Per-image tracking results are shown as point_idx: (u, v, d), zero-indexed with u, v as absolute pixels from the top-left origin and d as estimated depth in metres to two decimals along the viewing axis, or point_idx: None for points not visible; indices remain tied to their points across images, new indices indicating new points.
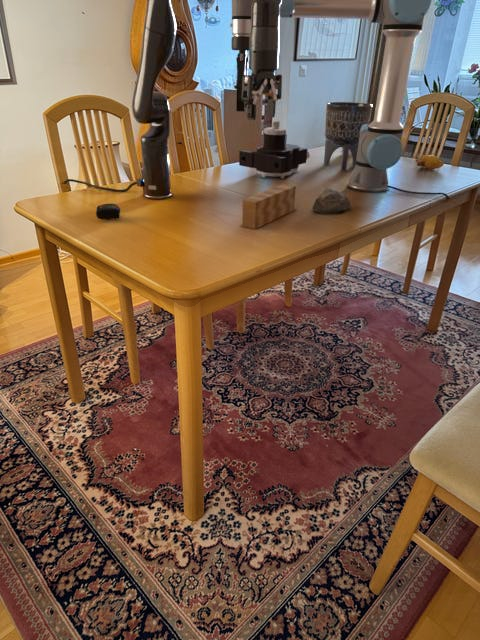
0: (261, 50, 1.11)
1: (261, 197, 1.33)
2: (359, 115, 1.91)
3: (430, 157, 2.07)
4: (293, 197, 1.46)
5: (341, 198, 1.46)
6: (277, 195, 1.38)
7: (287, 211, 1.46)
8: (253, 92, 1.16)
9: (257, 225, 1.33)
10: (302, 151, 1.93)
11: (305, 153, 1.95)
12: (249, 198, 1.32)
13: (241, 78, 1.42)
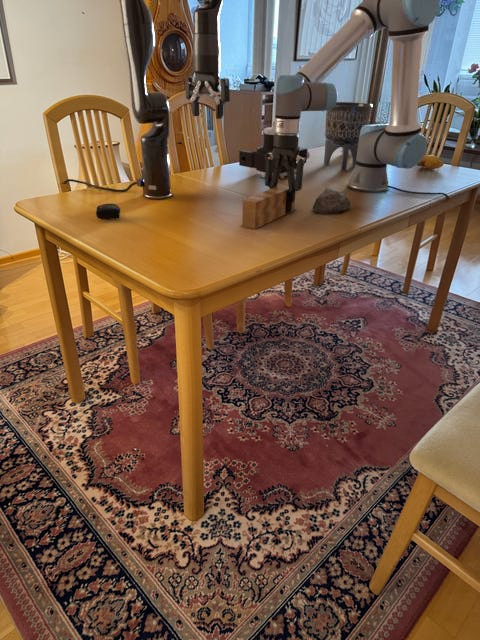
0: (219, 55, 1.25)
1: (261, 197, 1.33)
2: (359, 115, 1.91)
3: (430, 157, 2.07)
4: None
5: (341, 198, 1.46)
6: (277, 195, 1.38)
7: None
8: (218, 93, 1.29)
9: (257, 225, 1.33)
10: (302, 151, 1.93)
11: (305, 153, 1.95)
12: (249, 198, 1.32)
13: (300, 183, 1.40)
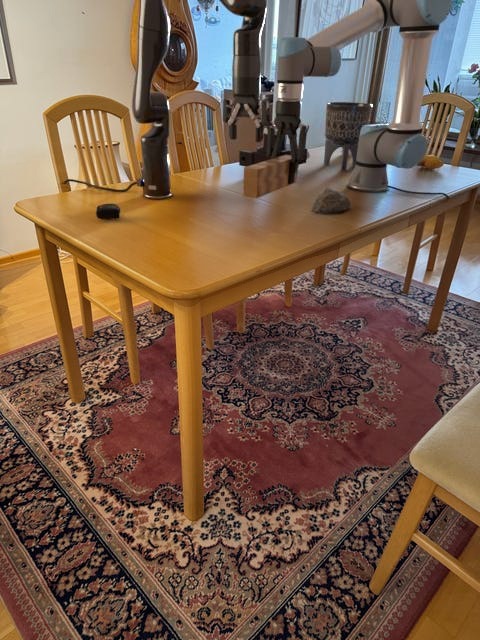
0: (260, 77, 1.20)
1: (263, 165, 1.28)
2: (359, 115, 1.91)
3: (430, 157, 2.07)
4: None
5: (341, 198, 1.46)
6: (279, 164, 1.33)
7: None
8: (258, 116, 1.23)
9: (259, 194, 1.29)
10: None
11: (305, 153, 1.95)
12: (250, 166, 1.27)
13: (303, 152, 1.35)
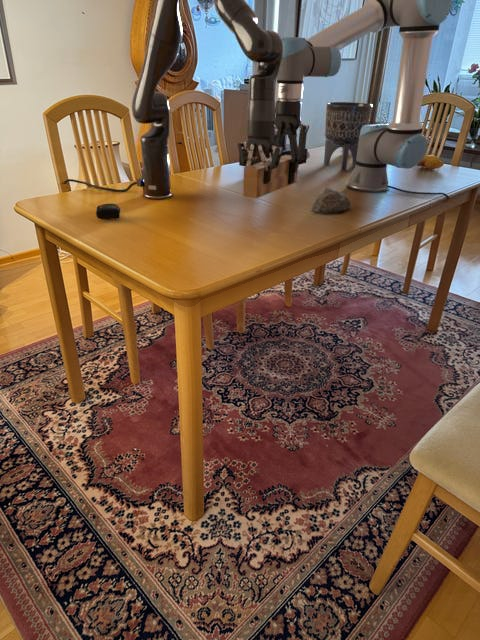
0: (274, 120, 1.22)
1: (263, 165, 1.28)
2: (359, 115, 1.91)
3: (430, 157, 2.07)
4: None
5: (341, 198, 1.46)
6: (279, 164, 1.33)
7: None
8: (268, 159, 1.26)
9: (259, 194, 1.29)
10: None
11: (305, 153, 1.95)
12: (250, 166, 1.27)
13: (303, 152, 1.35)
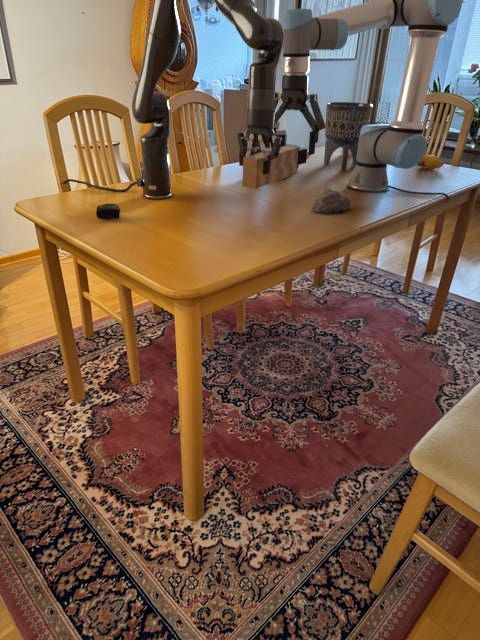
0: (274, 109, 1.21)
1: (262, 156, 1.27)
2: (359, 115, 1.91)
3: (430, 157, 2.07)
4: (295, 159, 1.41)
5: (341, 198, 1.46)
6: (279, 155, 1.32)
7: (289, 174, 1.40)
8: (268, 149, 1.25)
9: (258, 185, 1.27)
10: (302, 151, 1.93)
11: (305, 153, 1.95)
12: (250, 156, 1.26)
13: (322, 120, 1.31)
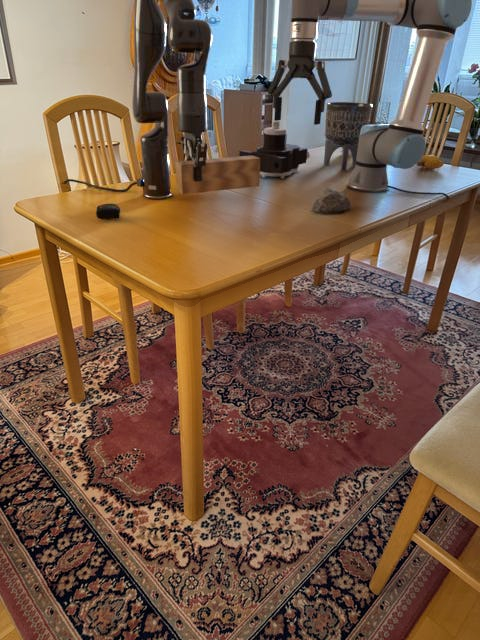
0: (203, 114, 1.15)
1: None
2: (359, 115, 1.91)
3: (430, 157, 2.07)
4: (255, 170, 1.30)
5: (341, 198, 1.46)
6: (223, 163, 1.25)
7: (245, 185, 1.31)
8: None
9: (186, 191, 1.24)
10: (302, 151, 1.93)
11: (305, 153, 1.95)
12: (183, 161, 1.23)
13: (328, 88, 1.29)
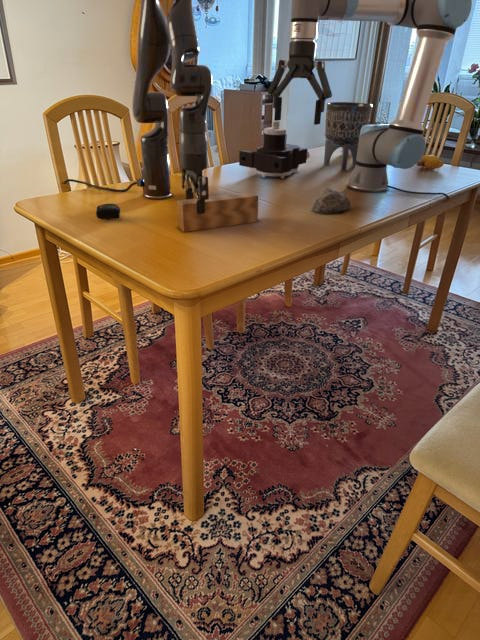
0: (204, 153, 1.20)
1: None
2: (359, 115, 1.91)
3: (430, 157, 2.07)
4: (253, 207, 1.36)
5: (341, 198, 1.46)
6: (222, 202, 1.30)
7: (244, 221, 1.37)
8: None
9: (188, 228, 1.29)
10: (302, 151, 1.93)
11: (305, 153, 1.95)
12: (185, 200, 1.29)
13: (328, 88, 1.29)
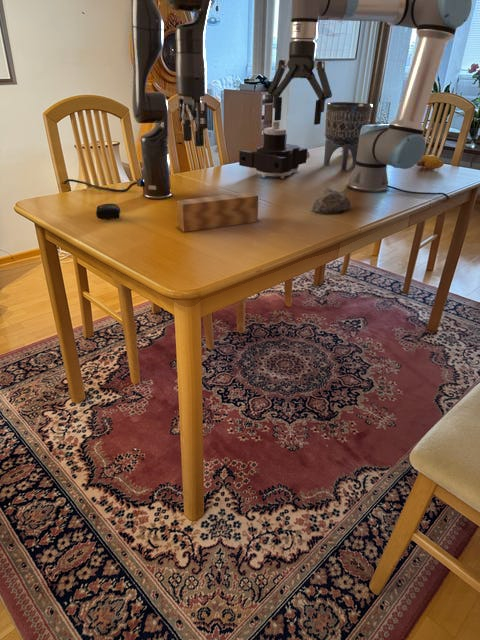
0: (202, 77, 1.11)
1: (198, 201, 1.28)
2: (359, 115, 1.91)
3: (430, 157, 2.07)
4: (253, 207, 1.36)
5: (341, 198, 1.46)
6: (222, 202, 1.30)
7: (244, 221, 1.37)
8: None
9: (188, 228, 1.29)
10: (302, 151, 1.93)
11: (305, 153, 1.95)
12: (185, 200, 1.29)
13: (328, 88, 1.29)
